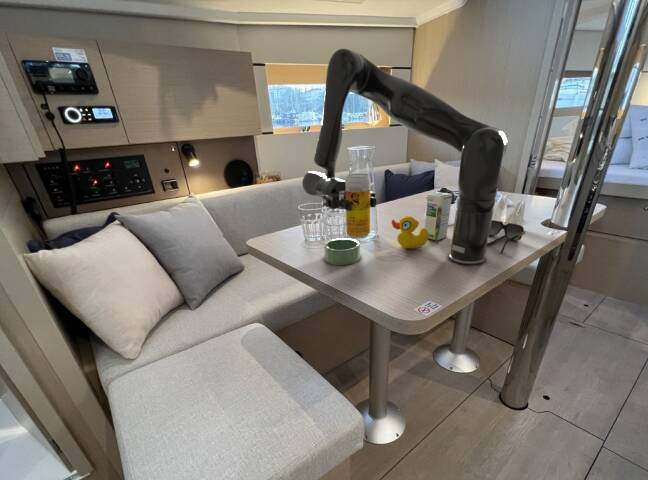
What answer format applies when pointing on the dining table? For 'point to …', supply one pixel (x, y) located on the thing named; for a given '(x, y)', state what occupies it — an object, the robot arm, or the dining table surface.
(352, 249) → the green round bowl
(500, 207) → the shaker set
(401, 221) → the duckling
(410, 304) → the dining table surface
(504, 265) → the dining table surface
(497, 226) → the sunglasses
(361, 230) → the yellow bottle
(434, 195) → the syrup box
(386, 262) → the dining table surface
